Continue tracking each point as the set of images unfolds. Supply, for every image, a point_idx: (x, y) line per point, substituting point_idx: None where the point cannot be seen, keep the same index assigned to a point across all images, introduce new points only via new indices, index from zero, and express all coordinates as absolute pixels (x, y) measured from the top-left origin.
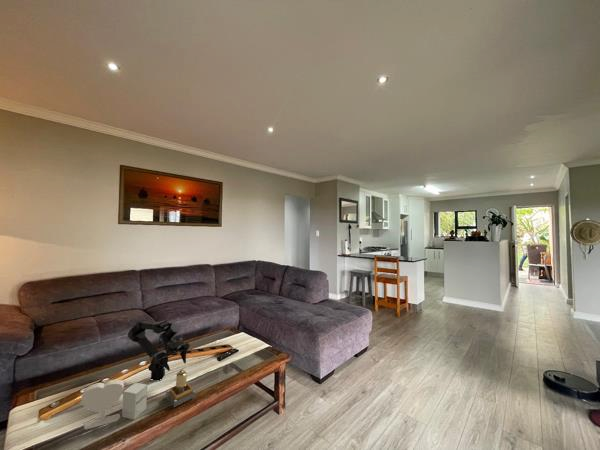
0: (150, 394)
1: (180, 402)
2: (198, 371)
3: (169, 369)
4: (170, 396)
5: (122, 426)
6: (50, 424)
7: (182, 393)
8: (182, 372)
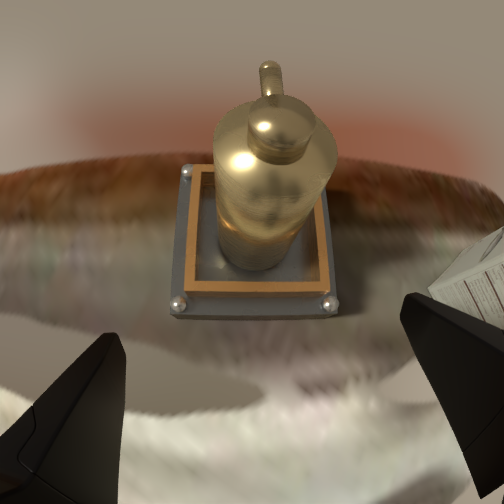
0: (386, 411)
1: None
2: None
3: (415, 296)
4: (328, 240)
5: None
6: None
7: None
8: (281, 98)
